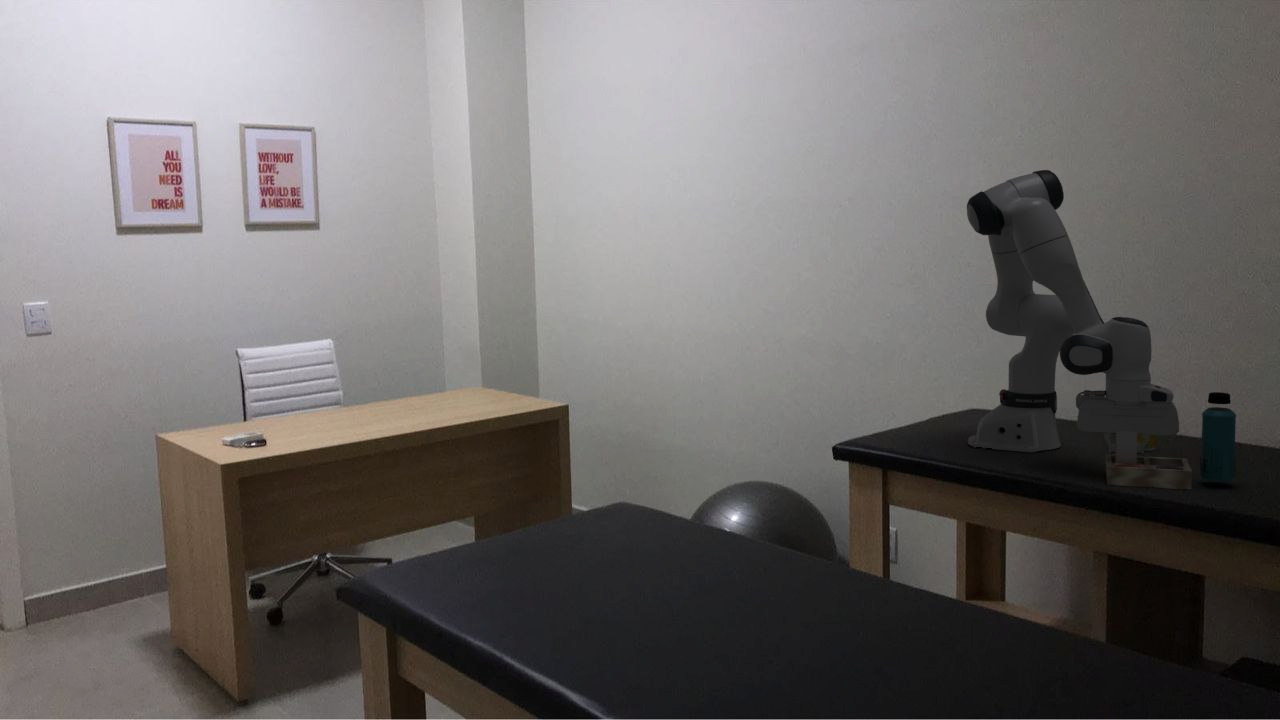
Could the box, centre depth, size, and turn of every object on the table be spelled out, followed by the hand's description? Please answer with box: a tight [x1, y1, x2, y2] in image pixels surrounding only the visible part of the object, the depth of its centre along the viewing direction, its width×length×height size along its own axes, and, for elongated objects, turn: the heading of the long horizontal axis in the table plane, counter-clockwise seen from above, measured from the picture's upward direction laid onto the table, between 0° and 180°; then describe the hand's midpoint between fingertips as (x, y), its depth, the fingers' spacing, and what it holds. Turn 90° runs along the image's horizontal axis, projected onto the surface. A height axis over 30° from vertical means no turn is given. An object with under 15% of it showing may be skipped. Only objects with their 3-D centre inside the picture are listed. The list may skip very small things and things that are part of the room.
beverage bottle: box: [1199, 391, 1237, 483], centre depth 209 cm, size 6×7×20 cm
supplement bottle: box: [1137, 434, 1157, 452], centre depth 245 cm, size 5×5×10 cm
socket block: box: [1105, 454, 1193, 491], centre depth 216 cm, size 16×12×4 cm
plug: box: [1115, 431, 1138, 464], centre depth 218 cm, size 4×4×9 cm
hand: (1126, 453), depth 218 cm, fingers closed on plug, 4 cm apart
